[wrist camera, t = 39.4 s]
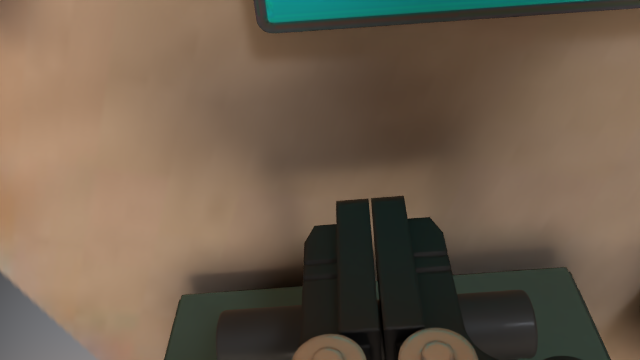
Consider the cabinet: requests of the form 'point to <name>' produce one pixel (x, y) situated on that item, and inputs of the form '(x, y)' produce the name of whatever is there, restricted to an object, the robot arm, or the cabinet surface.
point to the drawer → (285, 325)
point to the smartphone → (409, 11)
